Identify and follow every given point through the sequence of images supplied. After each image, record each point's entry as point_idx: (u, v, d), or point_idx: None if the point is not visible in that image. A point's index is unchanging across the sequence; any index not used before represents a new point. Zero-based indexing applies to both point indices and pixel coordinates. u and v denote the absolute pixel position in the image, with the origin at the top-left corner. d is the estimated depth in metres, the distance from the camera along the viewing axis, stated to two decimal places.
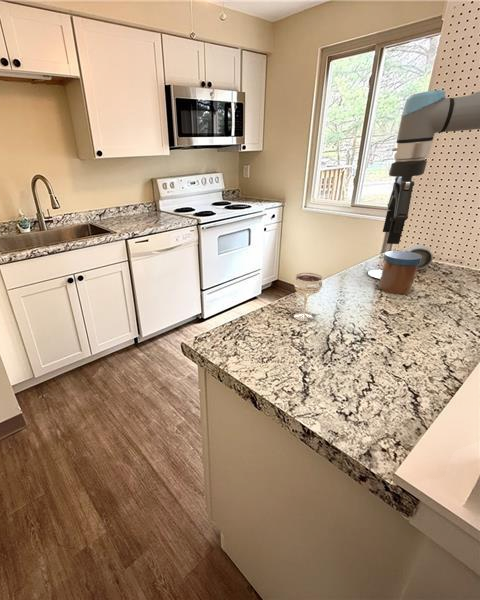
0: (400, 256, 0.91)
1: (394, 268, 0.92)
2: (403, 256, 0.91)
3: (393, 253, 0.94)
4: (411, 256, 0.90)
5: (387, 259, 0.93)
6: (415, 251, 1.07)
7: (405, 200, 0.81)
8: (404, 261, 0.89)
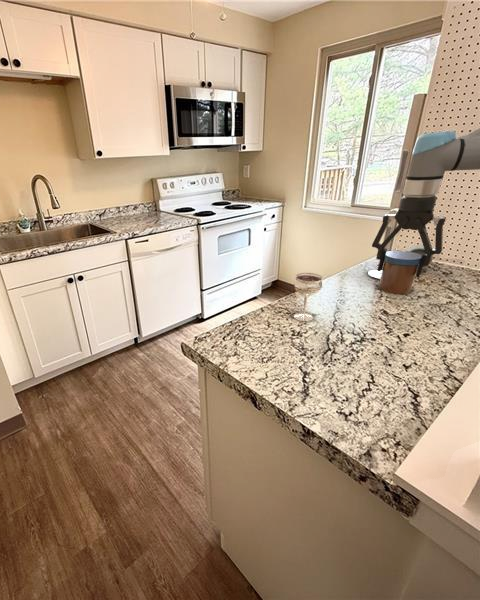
0: (400, 256, 0.91)
1: (394, 268, 0.92)
2: (403, 256, 0.91)
3: (393, 253, 0.94)
4: (411, 256, 0.90)
5: (387, 259, 0.93)
6: (415, 251, 1.07)
7: (379, 230, 0.94)
8: (404, 261, 0.89)
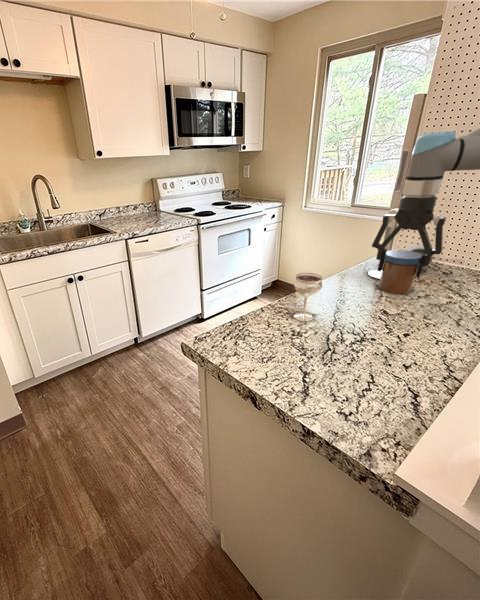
0: (410, 255, 0.90)
1: (394, 268, 0.92)
2: (409, 254, 0.91)
3: (398, 256, 0.91)
4: (408, 252, 0.93)
5: (411, 262, 0.89)
6: (415, 251, 1.07)
7: (379, 231, 0.94)
8: None
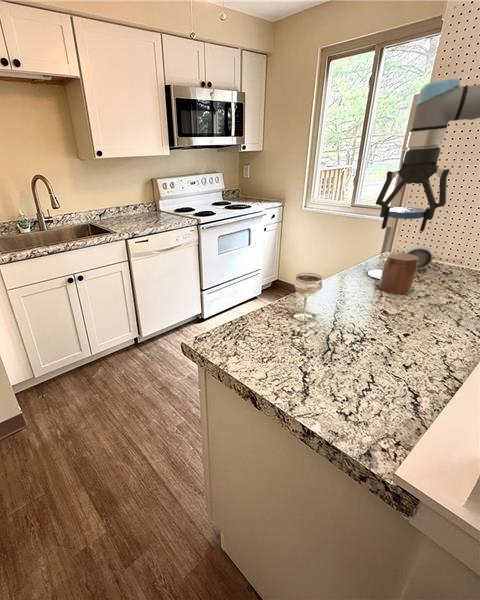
0: (414, 210, 0.91)
1: (394, 268, 0.92)
2: (413, 210, 0.92)
3: (402, 211, 0.92)
4: (411, 208, 0.93)
5: (415, 216, 0.89)
6: (415, 251, 1.07)
7: (383, 187, 0.94)
8: None
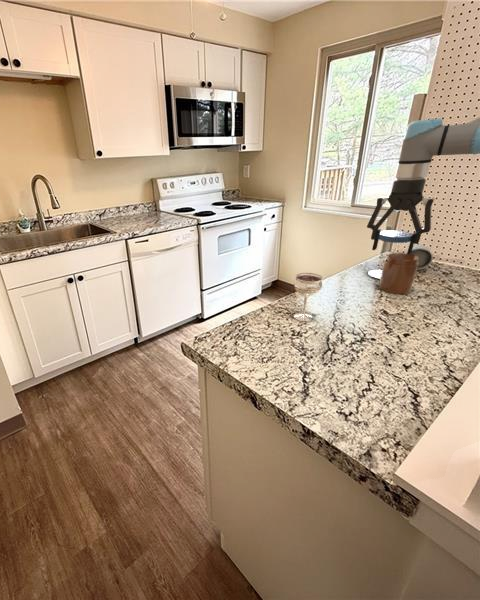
0: (402, 234, 0.98)
1: (394, 268, 0.92)
2: (401, 234, 0.99)
3: (391, 235, 0.99)
4: (400, 232, 1.00)
5: (402, 240, 0.96)
6: (415, 251, 1.07)
7: None
8: None
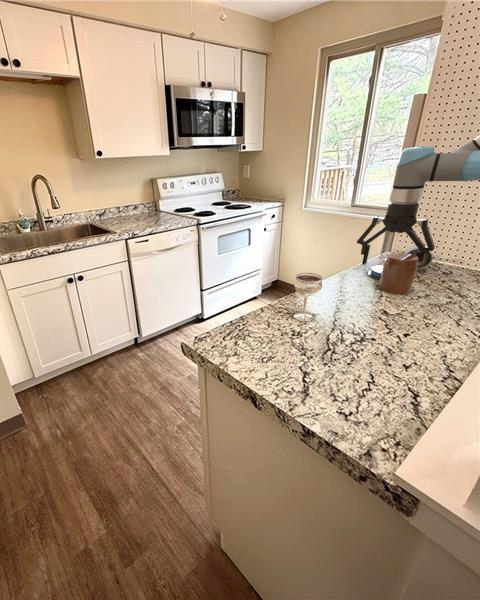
0: None
1: (394, 268, 0.92)
2: None
3: None
4: None
5: None
6: (415, 251, 1.07)
7: None
8: None
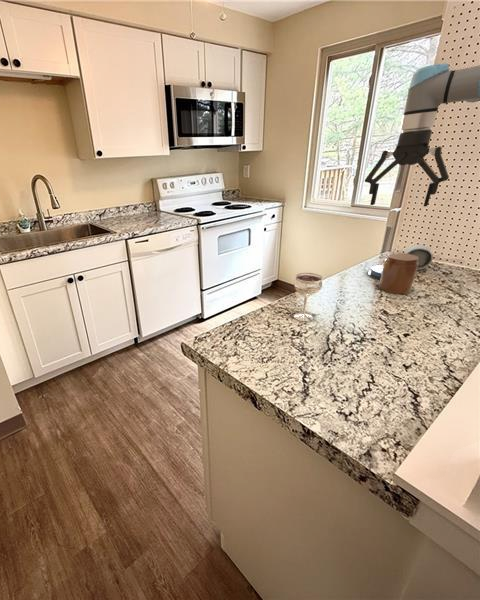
0: None
1: (394, 268, 0.92)
2: None
3: None
4: None
5: None
6: (415, 251, 1.07)
7: (375, 166, 1.00)
8: None
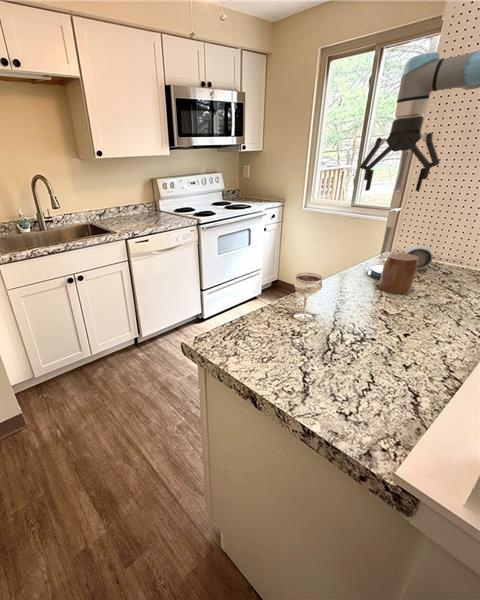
0: None
1: (394, 268, 0.92)
2: None
3: None
4: None
5: None
6: (415, 251, 1.07)
7: (370, 153, 1.04)
8: None
